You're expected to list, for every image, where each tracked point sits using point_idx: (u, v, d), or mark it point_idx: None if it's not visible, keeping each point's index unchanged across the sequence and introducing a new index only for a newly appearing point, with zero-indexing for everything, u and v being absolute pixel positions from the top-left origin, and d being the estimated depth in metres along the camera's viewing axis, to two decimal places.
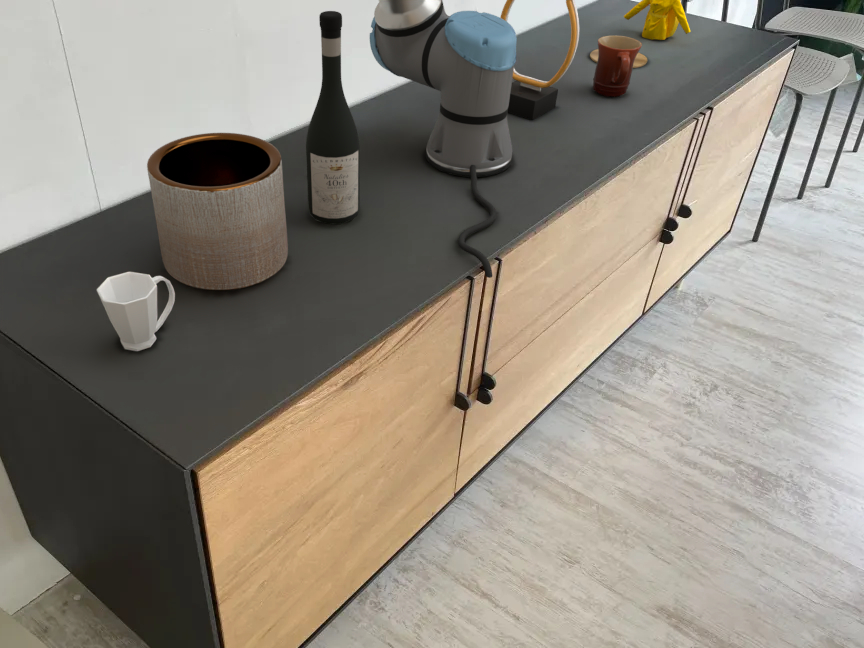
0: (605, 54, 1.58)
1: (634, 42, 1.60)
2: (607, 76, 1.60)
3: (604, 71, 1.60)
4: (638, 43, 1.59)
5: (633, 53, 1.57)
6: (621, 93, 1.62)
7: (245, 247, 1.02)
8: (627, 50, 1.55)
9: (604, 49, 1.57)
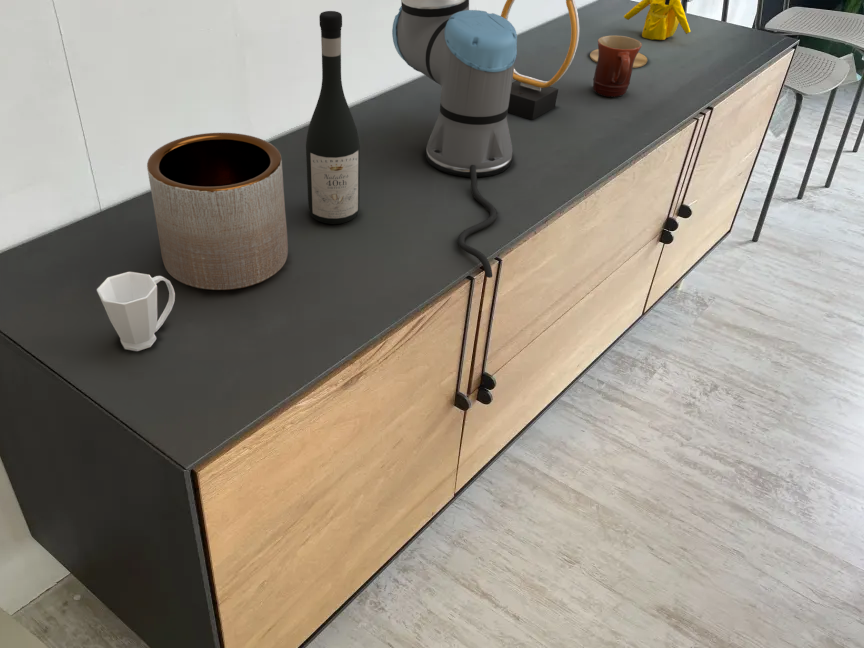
0: (605, 54, 1.58)
1: (634, 42, 1.60)
2: (607, 76, 1.60)
3: (604, 71, 1.60)
4: (638, 43, 1.59)
5: (633, 53, 1.57)
6: (621, 93, 1.62)
7: (245, 247, 1.02)
8: (627, 50, 1.55)
9: (604, 49, 1.57)
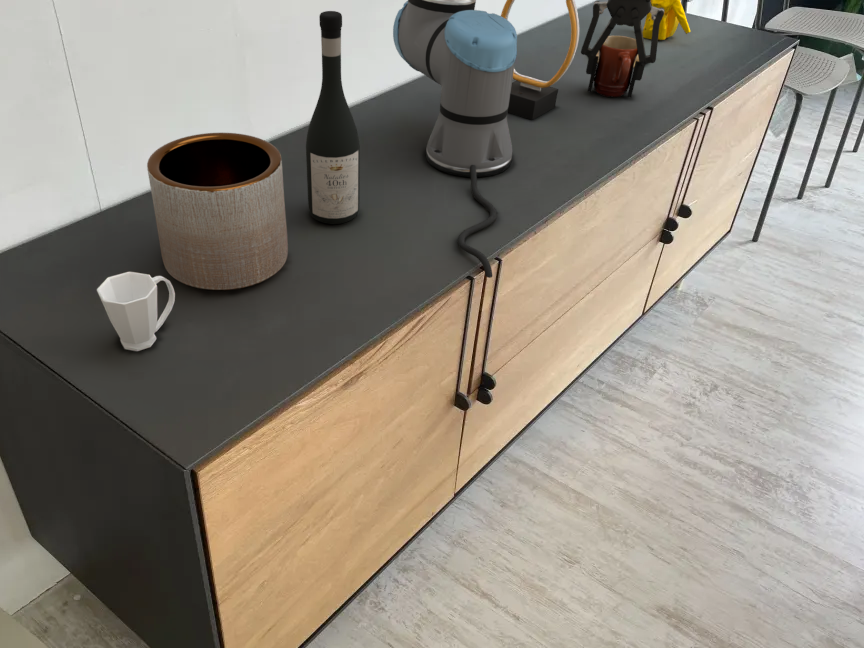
0: (606, 54, 1.58)
1: (634, 43, 1.60)
2: (608, 76, 1.60)
3: (605, 71, 1.60)
4: None
5: (634, 53, 1.56)
6: (622, 93, 1.62)
7: (245, 247, 1.02)
8: (628, 50, 1.55)
9: (605, 49, 1.57)
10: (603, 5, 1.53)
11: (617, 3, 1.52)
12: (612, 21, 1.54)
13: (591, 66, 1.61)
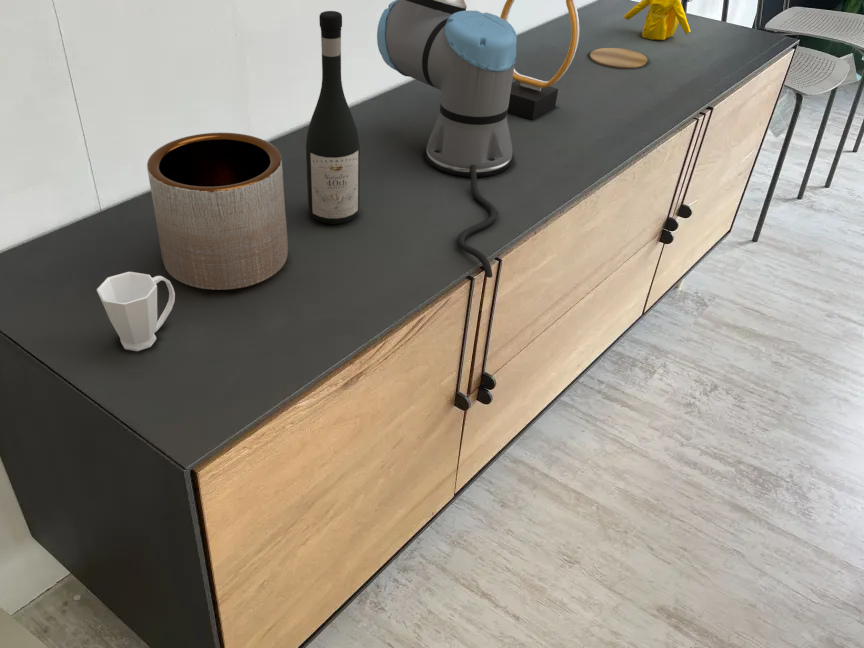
0: None
1: None
2: None
3: None
4: None
5: None
6: None
7: (245, 247, 1.02)
8: None
9: None
10: None
11: None
12: None
13: None
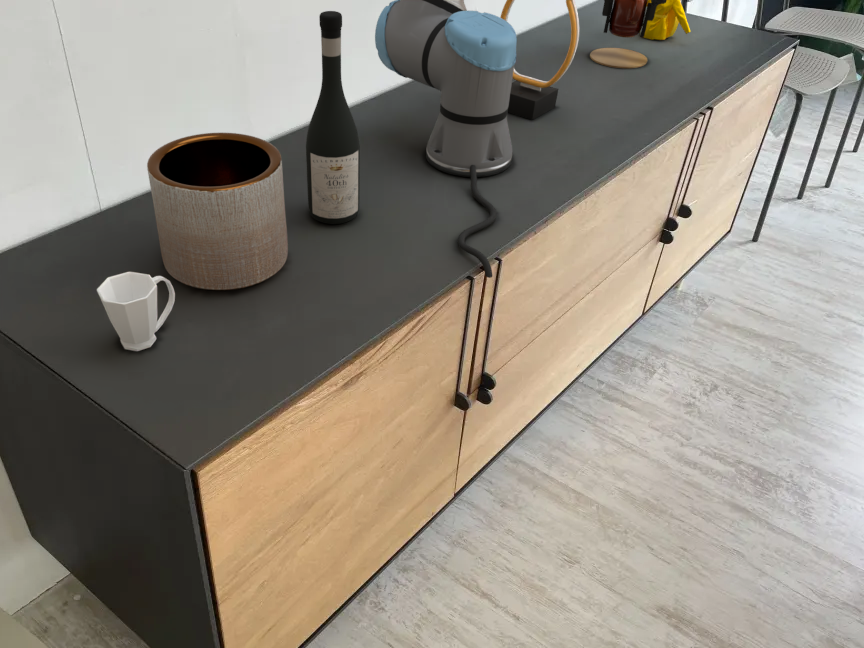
0: None
1: None
2: (622, 17, 1.74)
3: (620, 12, 1.74)
4: None
5: None
6: (635, 33, 1.76)
7: (245, 247, 1.02)
8: None
9: None
10: None
11: None
12: None
13: (607, 8, 1.75)
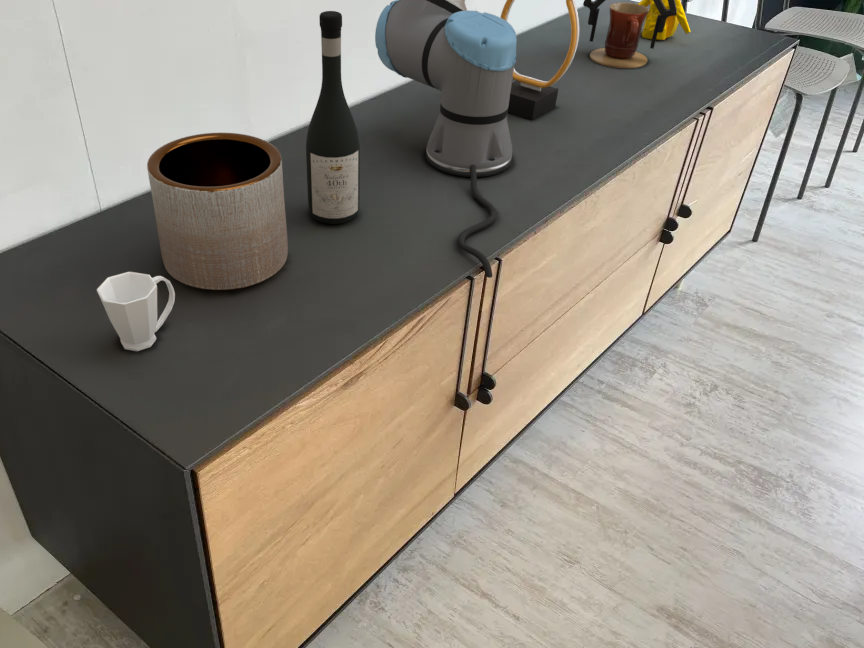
0: (616, 19, 1.75)
1: (642, 9, 1.77)
2: (618, 39, 1.77)
3: (615, 34, 1.77)
4: (646, 9, 1.76)
5: (641, 17, 1.74)
6: (630, 55, 1.79)
7: (245, 247, 1.02)
8: (636, 14, 1.72)
9: (615, 14, 1.74)
10: None
11: None
12: None
13: (592, 17, 1.77)
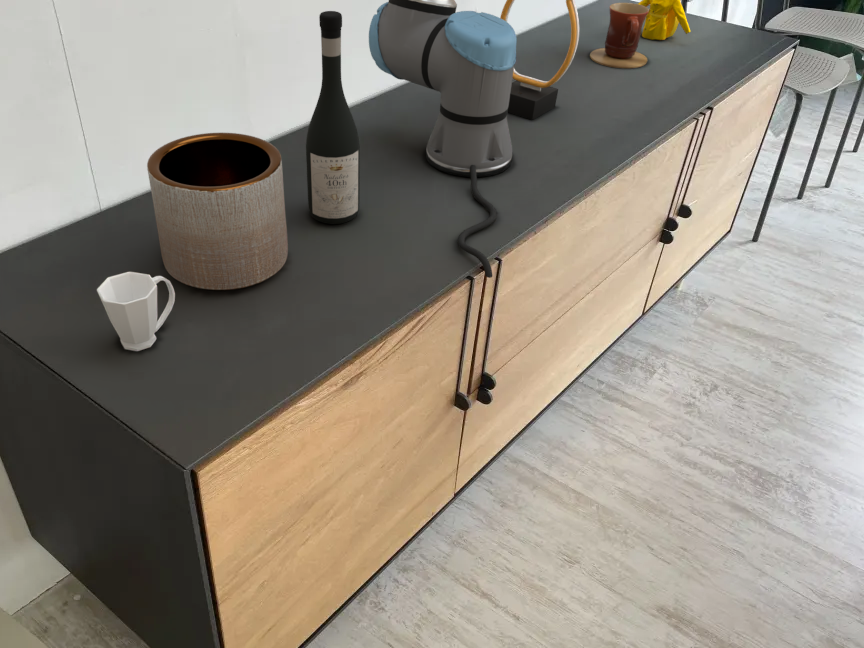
0: (616, 19, 1.75)
1: (642, 9, 1.77)
2: (618, 39, 1.77)
3: (615, 34, 1.77)
4: (646, 9, 1.76)
5: (641, 17, 1.74)
6: (630, 55, 1.79)
7: (245, 247, 1.02)
8: (636, 14, 1.72)
9: (615, 14, 1.74)
10: None
11: None
12: None
13: None
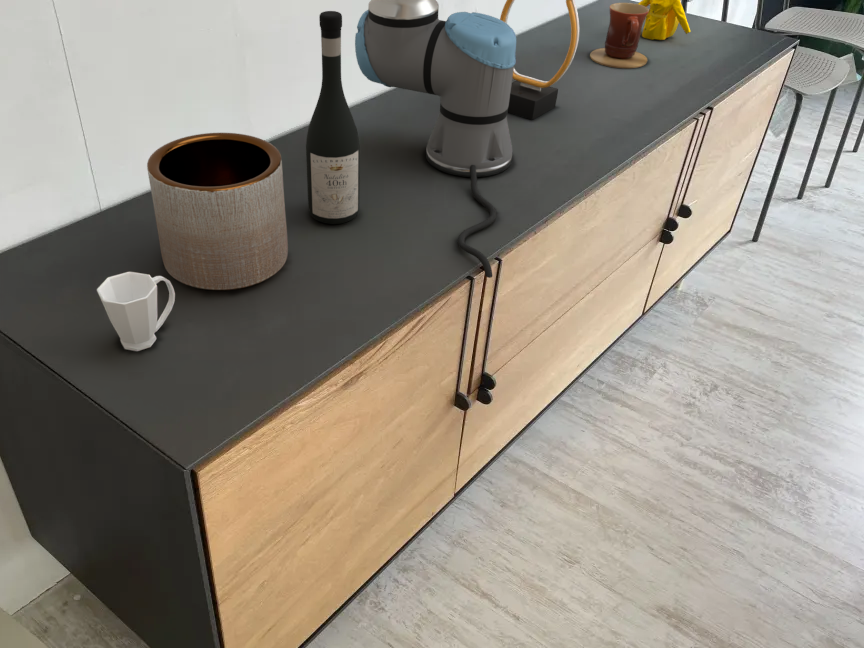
0: (616, 19, 1.75)
1: (642, 9, 1.77)
2: (618, 39, 1.77)
3: (615, 34, 1.77)
4: (646, 9, 1.76)
5: (641, 17, 1.74)
6: (630, 55, 1.79)
7: (245, 247, 1.02)
8: (636, 14, 1.72)
9: (615, 14, 1.74)
10: None
11: None
12: None
13: None
